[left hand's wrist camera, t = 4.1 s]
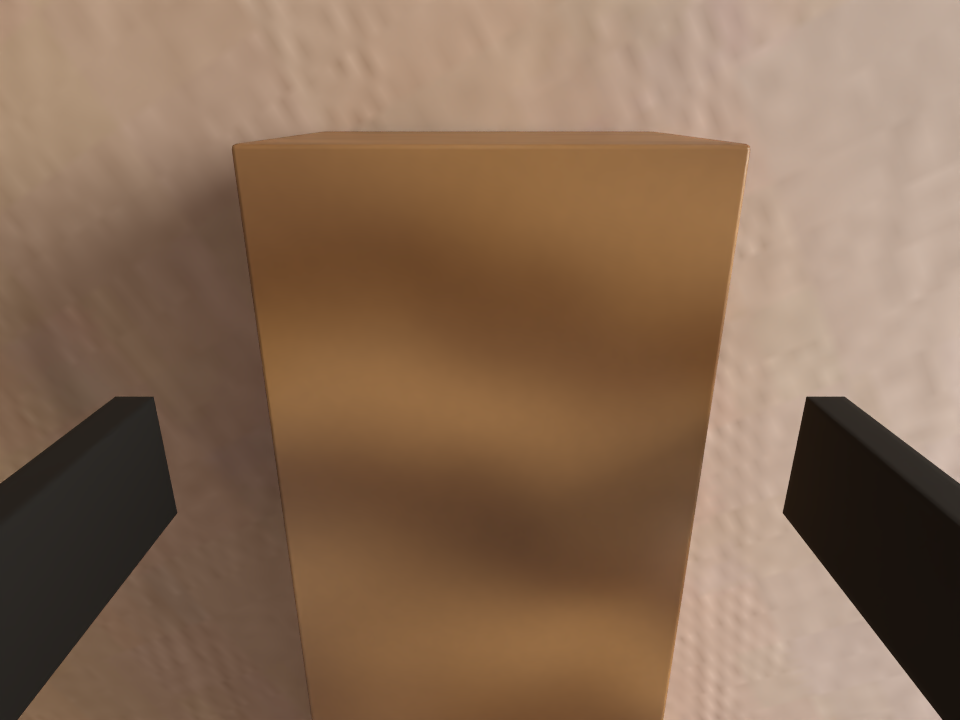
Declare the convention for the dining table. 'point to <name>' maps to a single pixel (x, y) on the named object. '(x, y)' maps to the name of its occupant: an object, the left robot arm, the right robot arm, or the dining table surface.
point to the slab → (489, 407)
